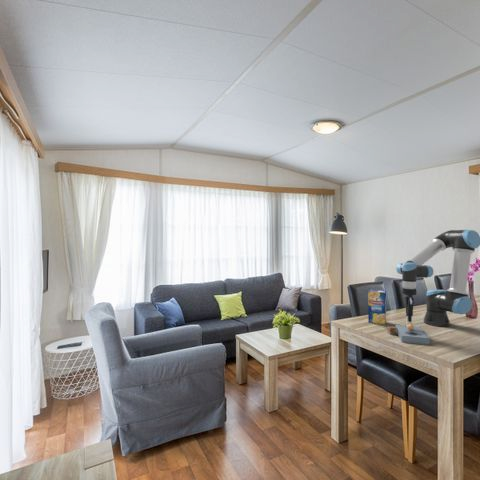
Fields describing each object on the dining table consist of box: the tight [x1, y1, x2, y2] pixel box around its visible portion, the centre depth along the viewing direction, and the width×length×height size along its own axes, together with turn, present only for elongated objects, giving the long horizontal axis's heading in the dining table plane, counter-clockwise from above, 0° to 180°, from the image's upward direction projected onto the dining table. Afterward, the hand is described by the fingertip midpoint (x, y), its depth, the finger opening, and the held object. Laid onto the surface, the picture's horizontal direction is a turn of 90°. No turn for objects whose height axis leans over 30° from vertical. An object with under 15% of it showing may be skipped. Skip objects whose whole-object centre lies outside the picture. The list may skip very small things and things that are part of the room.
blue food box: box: [367, 289, 387, 325], centre depth 212 cm, size 7×11×22 cm, turn 61°
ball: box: [406, 323, 414, 330], centre depth 183 cm, size 4×4×4 cm
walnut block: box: [386, 325, 398, 336], centre depth 188 cm, size 4×4×4 cm
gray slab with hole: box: [394, 324, 431, 345], centre depth 181 cm, size 22×14×4 cm, turn 161°
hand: (409, 326), depth 185 cm, fingers closed
